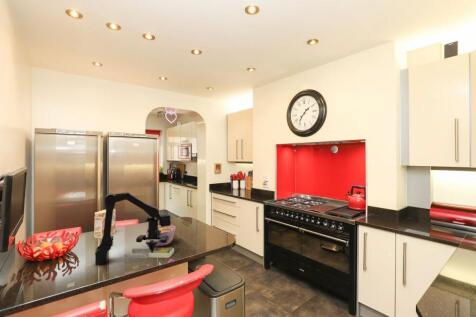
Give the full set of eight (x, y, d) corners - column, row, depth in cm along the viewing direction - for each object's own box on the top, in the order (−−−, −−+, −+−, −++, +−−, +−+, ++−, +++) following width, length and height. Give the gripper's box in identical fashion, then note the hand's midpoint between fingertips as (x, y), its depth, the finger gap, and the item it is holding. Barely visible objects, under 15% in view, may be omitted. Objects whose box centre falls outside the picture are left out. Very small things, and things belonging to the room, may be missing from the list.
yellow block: (166, 255, 140) (166, 251, 140) (159, 255, 140) (159, 250, 140) (168, 253, 144) (168, 248, 144) (162, 253, 144) (162, 248, 144)
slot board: (147, 259, 137) (147, 255, 137) (124, 259, 137) (124, 255, 137) (154, 252, 148) (154, 248, 148) (132, 251, 148) (133, 248, 148)
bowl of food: (180, 241, 168) (180, 225, 168) (165, 251, 149) (165, 234, 149) (157, 238, 173) (157, 223, 173) (138, 248, 154) (139, 231, 154)
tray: (169, 259, 138) (169, 253, 138) (148, 258, 138) (148, 253, 138) (174, 253, 147) (174, 247, 147) (153, 252, 147) (153, 247, 147)
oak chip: (159, 255, 140) (159, 251, 140) (153, 255, 140) (153, 250, 140) (161, 253, 144) (161, 248, 144) (155, 253, 144) (155, 248, 144)
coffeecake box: (102, 239, 171) (102, 212, 172) (93, 238, 173) (94, 212, 173) (115, 232, 186) (116, 208, 186) (107, 232, 187) (108, 208, 187)
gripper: (171, 224, 150) (171, 248, 150) (143, 223, 151) (143, 247, 151) (166, 229, 139) (165, 255, 139) (135, 228, 139) (135, 254, 139)
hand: (152, 252), depth 142 cm, fingers closed
